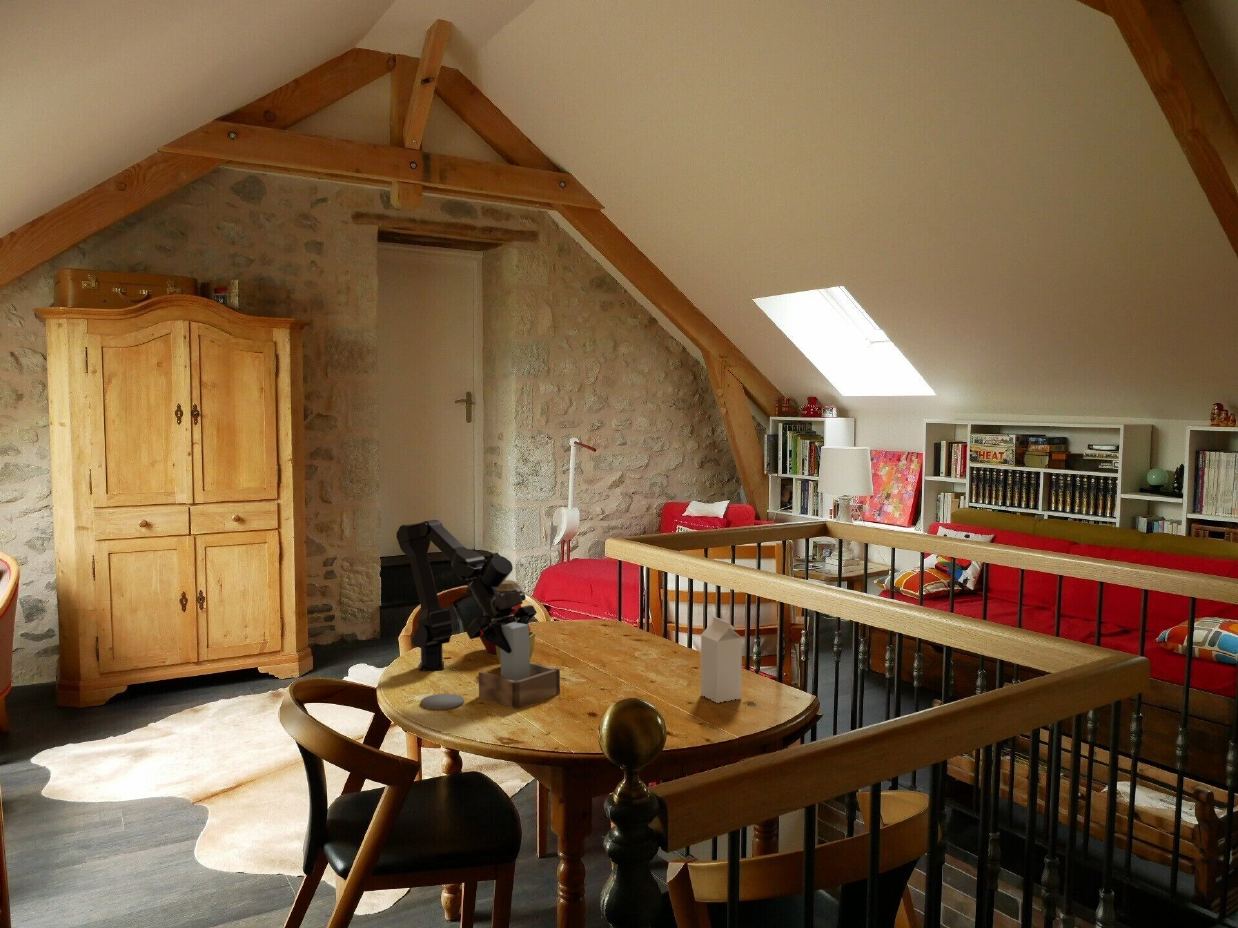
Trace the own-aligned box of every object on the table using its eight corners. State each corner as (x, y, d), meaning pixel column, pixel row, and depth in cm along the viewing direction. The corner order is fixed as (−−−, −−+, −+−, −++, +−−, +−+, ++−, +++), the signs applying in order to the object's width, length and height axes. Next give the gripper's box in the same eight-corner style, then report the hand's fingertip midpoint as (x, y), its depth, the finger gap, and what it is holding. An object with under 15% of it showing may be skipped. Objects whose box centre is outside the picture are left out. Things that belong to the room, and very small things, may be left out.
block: (501, 678, 220) (499, 625, 219) (516, 674, 223) (514, 622, 223) (514, 682, 216) (513, 628, 216) (530, 677, 220) (528, 624, 219)
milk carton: (716, 703, 213) (717, 624, 212) (700, 695, 219) (701, 618, 218) (741, 699, 216) (742, 621, 215) (724, 690, 222) (725, 615, 221)
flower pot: (526, 673, 236) (525, 640, 236) (494, 671, 238) (494, 638, 237) (535, 664, 245) (535, 631, 244) (505, 662, 246) (504, 630, 246)
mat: (421, 697, 217) (421, 694, 217) (463, 694, 219) (463, 692, 219) (420, 711, 207) (420, 708, 207) (464, 708, 209) (464, 706, 209)
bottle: (469, 655, 253) (468, 585, 251) (486, 643, 266) (486, 576, 264) (522, 659, 249) (522, 587, 248) (537, 646, 262) (537, 578, 261)
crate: (478, 696, 218) (478, 671, 218) (523, 682, 229) (522, 659, 228) (515, 708, 209) (515, 683, 209) (559, 693, 220) (559, 669, 220)
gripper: (474, 584, 214) (505, 639, 207) (531, 573, 228) (562, 624, 221) (453, 611, 220) (483, 665, 213) (510, 599, 234) (540, 649, 227)
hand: (518, 650), depth 219 cm, fingers closed on block, 5 cm apart
